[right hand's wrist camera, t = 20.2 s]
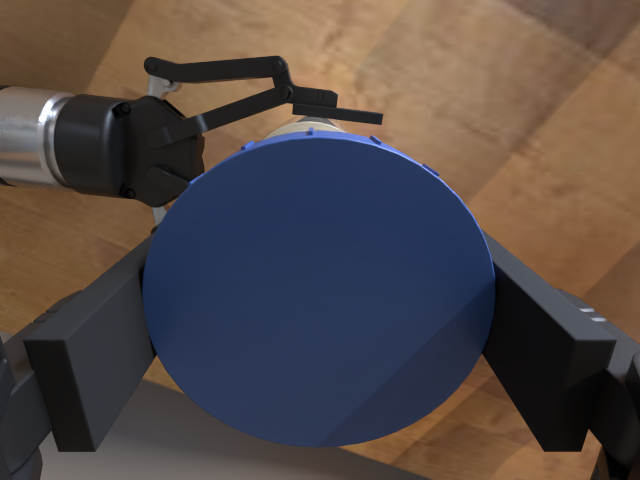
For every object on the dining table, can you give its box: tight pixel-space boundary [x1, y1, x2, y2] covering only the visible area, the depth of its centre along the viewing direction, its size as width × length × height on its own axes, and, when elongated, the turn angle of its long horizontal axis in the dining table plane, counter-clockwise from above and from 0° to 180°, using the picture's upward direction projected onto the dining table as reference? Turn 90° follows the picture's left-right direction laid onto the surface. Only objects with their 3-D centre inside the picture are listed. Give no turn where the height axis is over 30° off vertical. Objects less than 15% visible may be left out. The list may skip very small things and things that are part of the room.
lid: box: [142, 127, 496, 447], centre depth 11 cm, size 9×9×2 cm
